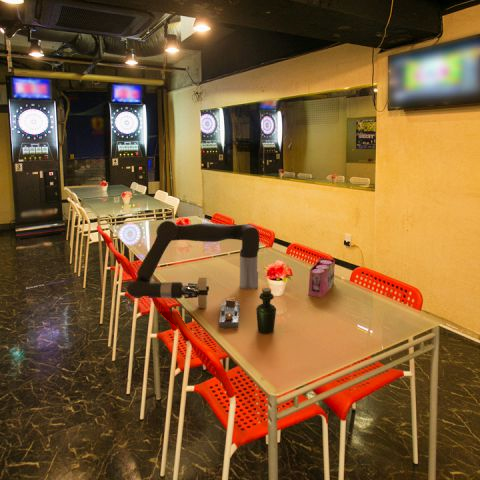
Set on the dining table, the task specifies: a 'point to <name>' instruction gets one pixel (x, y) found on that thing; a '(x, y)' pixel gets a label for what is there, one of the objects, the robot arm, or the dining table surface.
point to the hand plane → (229, 314)
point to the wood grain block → (202, 298)
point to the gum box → (321, 277)
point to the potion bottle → (266, 312)
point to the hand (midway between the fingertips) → (208, 290)
